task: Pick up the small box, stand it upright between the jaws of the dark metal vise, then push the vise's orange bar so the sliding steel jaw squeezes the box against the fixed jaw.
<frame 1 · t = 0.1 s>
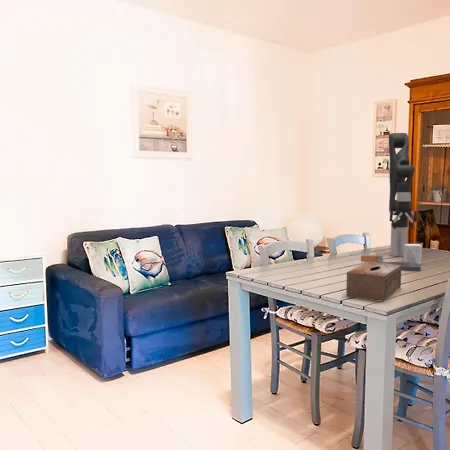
hand: (402, 229, 258), 17 cm above the table, tool pointing down, fingers open, 8 cm apart
tissue box cover: (374, 292, 187), on the table
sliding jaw: (371, 258, 238), point 5 cm above the table, slide at 0.0 cm
vise: (391, 267, 236), on the table
small box: (412, 264, 246), on the table
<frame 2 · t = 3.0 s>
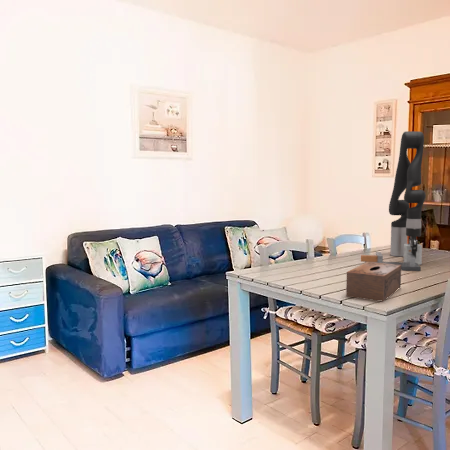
hand: (412, 257, 246), 3 cm above the table, tool pointing down, fingers closed on small box, 6 cm apart
small box: (412, 264, 246), on the table, touching gripper
everything else where it was.
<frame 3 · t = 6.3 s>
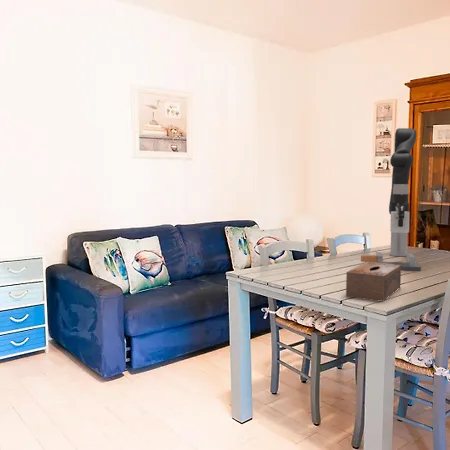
hand: (399, 226, 233), 22 cm above the table, tool pointing down, fingers closed on small box, 6 cm apart
small box: (399, 232, 233), point 18 cm above the table, touching gripper
everything else where it was.
when the fingers open (7 cm above the table, at t = 10.0 s): small box drops 2 cm, resting on vise.
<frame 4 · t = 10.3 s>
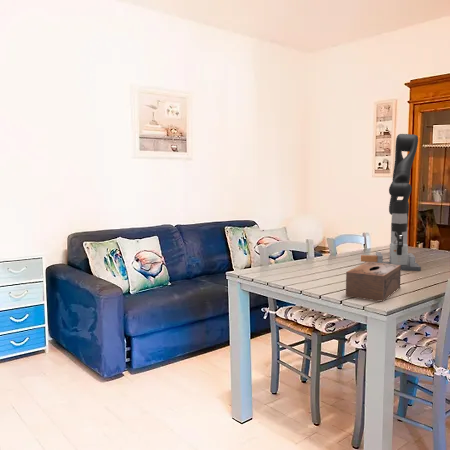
hand: (398, 253, 234), 8 cm above the table, tool pointing down, fingers open, 8 cm apart
small box: (398, 264, 235), point 2 cm above the table, touching vise
everything else where it was.
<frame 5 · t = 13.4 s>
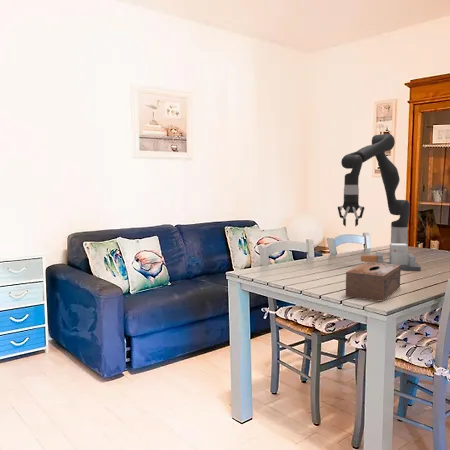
hand: (350, 226, 239), 21 cm above the table, tool pointing down, fingers open, 5 cm apart
nothing on the table moved.
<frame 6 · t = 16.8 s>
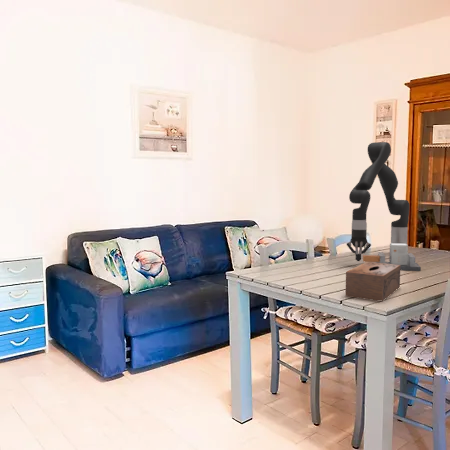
hand: (358, 261, 240), 3 cm above the table, tool pointing down, fingers closed
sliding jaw: (373, 258, 238), point 5 cm above the table, slide at 1.1 cm, touching gripper
everything else where it was.
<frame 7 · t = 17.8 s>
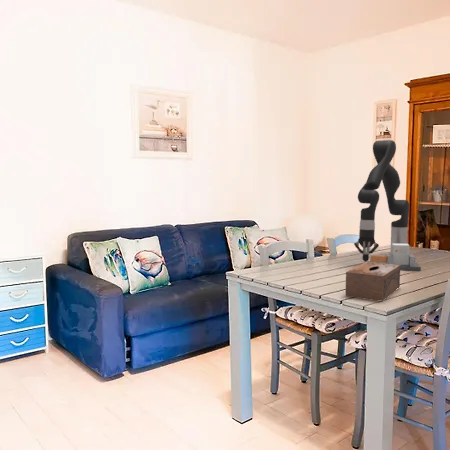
hand: (365, 261, 239), 3 cm above the table, tool pointing down, fingers closed
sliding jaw: (380, 258, 237), point 5 cm above the table, slide at 4.8 cm, touching gripper, small box
small box: (399, 264, 234), point 2 cm above the table, touching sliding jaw, vise
everything else where it was.
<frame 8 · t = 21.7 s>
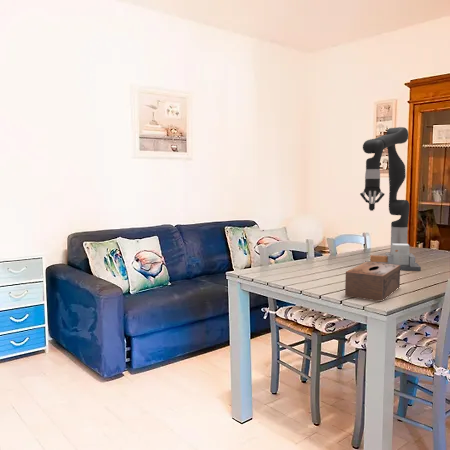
hand: (371, 210, 243), 29 cm above the table, tool pointing down, fingers closed
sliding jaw: (380, 258, 237), point 5 cm above the table, slide at 4.8 cm
small box: (399, 264, 234), point 2 cm above the table, touching vise
everything else where it was.
at the end: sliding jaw slide at 4.8 cm; small box 0.9 cm from the target spot, point 1.8 cm above the table; small box tilted 0° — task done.
